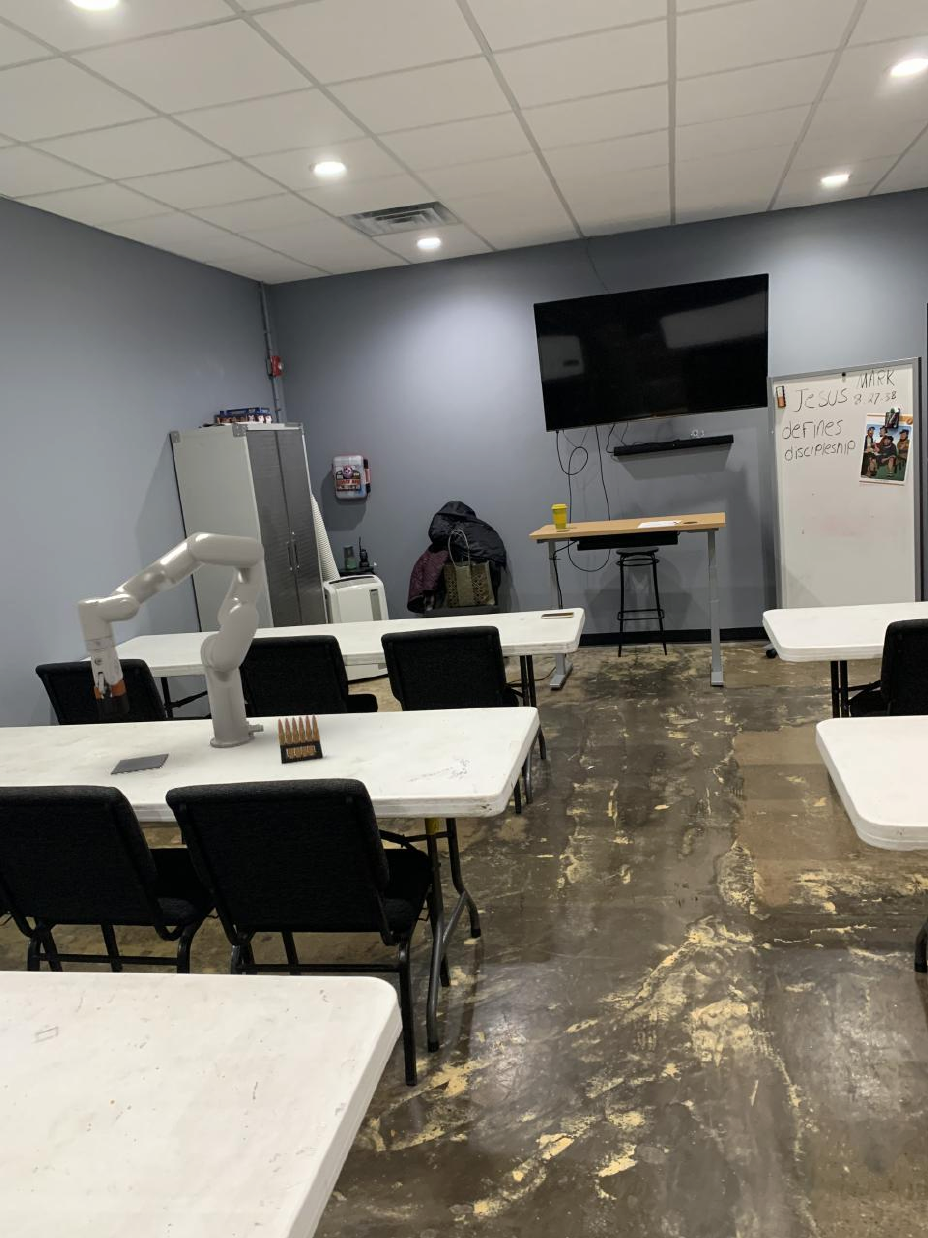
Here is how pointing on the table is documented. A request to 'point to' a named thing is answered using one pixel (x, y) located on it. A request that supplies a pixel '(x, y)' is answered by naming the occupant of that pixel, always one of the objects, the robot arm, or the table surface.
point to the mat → (140, 763)
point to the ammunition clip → (299, 741)
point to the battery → (120, 697)
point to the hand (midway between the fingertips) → (114, 708)
